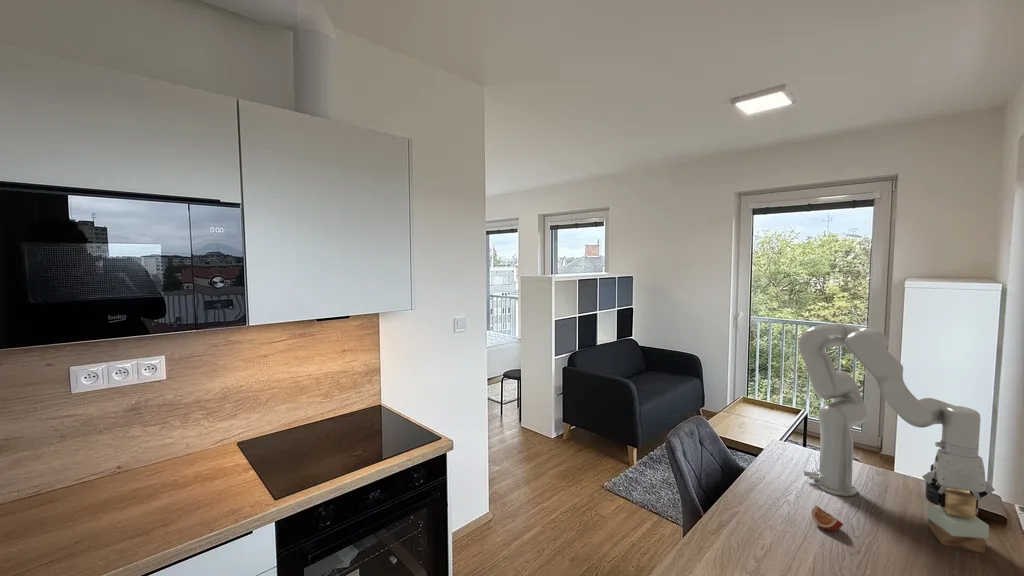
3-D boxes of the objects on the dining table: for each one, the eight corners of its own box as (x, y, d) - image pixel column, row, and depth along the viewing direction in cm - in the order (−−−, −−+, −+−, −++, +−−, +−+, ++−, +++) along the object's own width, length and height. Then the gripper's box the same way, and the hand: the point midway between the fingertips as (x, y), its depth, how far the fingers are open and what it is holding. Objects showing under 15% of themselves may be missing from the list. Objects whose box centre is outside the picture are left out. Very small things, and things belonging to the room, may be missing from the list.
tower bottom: (942, 545, 124) (943, 532, 124) (928, 527, 132) (929, 515, 132) (984, 554, 120) (985, 540, 120) (967, 535, 128) (968, 522, 128)
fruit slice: (806, 520, 136) (807, 505, 136) (825, 518, 137) (826, 503, 137) (828, 536, 128) (829, 521, 128) (848, 535, 129) (849, 519, 128)
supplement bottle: (959, 507, 142) (960, 473, 141) (935, 505, 143) (936, 471, 142) (942, 496, 148) (944, 463, 147) (919, 494, 150) (921, 461, 149)
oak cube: (947, 513, 124) (948, 494, 124) (937, 503, 130) (938, 484, 129) (975, 518, 122) (976, 498, 121) (964, 507, 127) (965, 488, 127)
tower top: (951, 535, 122) (952, 522, 122) (926, 517, 131) (927, 504, 131) (988, 538, 121) (989, 525, 120) (960, 519, 129) (961, 507, 129)
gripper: (926, 448, 125) (923, 507, 126) (1008, 460, 117) (1004, 522, 119) (915, 439, 132) (912, 494, 133) (992, 449, 124) (988, 507, 125)
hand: (955, 507), depth 126 cm, fingers closed on oak cube, 6 cm apart
